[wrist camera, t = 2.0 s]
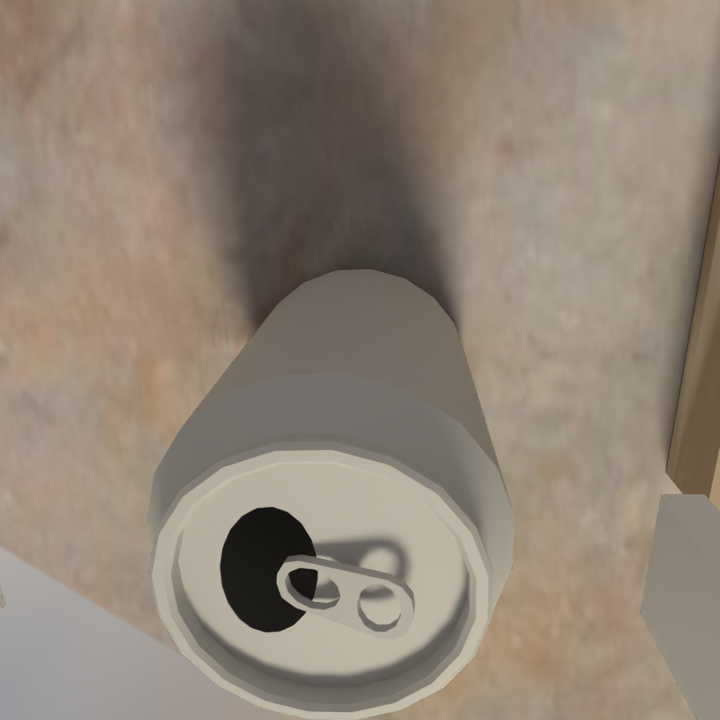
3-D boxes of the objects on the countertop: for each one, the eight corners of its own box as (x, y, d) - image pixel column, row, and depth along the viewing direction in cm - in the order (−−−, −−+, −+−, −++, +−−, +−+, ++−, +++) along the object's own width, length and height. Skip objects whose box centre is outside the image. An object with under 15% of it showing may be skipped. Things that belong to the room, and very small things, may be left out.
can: (264, 251, 20) (94, 385, 9) (480, 276, 20) (581, 444, 9) (256, 441, 23) (117, 728, 12) (446, 464, 23) (491, 779, 11)
